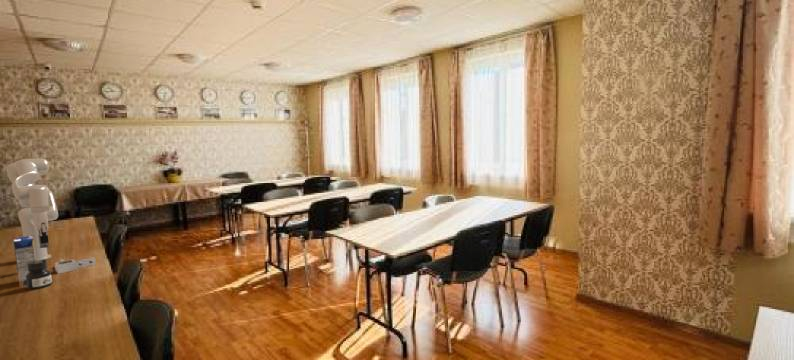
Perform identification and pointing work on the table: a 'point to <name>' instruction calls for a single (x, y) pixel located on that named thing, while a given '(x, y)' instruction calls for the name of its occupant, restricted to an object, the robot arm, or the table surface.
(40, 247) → the grey upright cylinder
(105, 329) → the table surface
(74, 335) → the table surface
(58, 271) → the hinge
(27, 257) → the beverage box
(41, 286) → the ink bottle
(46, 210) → the robot arm
